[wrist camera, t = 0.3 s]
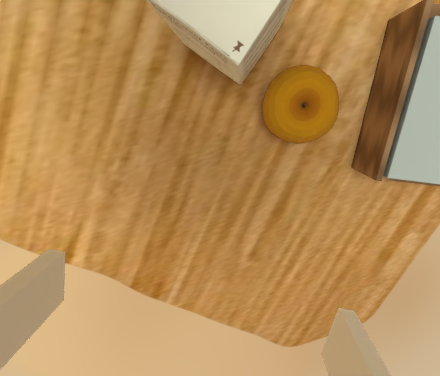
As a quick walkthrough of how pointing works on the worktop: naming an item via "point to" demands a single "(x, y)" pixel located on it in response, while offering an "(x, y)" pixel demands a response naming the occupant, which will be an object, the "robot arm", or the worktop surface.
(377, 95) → the box
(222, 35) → the supplement box
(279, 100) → the apple
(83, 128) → the worktop surface
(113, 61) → the worktop surface
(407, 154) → the cover plate
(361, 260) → the worktop surface
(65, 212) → the worktop surface
